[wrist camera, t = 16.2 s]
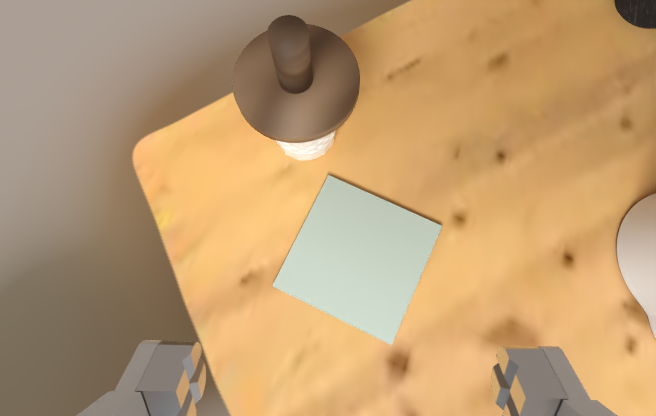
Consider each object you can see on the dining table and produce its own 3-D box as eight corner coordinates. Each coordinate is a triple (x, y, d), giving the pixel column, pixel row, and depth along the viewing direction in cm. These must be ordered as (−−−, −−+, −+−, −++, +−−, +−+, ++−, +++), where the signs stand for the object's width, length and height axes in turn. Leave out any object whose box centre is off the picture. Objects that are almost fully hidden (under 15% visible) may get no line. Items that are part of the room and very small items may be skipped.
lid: (377, 55, 39) (385, -4, 32) (330, 161, 36) (328, 123, 29) (267, 17, 40) (252, -48, 33) (214, 116, 37) (185, 70, 30)
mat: (441, 226, 44) (442, 225, 44) (390, 344, 42) (391, 345, 41) (328, 176, 46) (328, 174, 46) (272, 286, 43) (272, 285, 43)
